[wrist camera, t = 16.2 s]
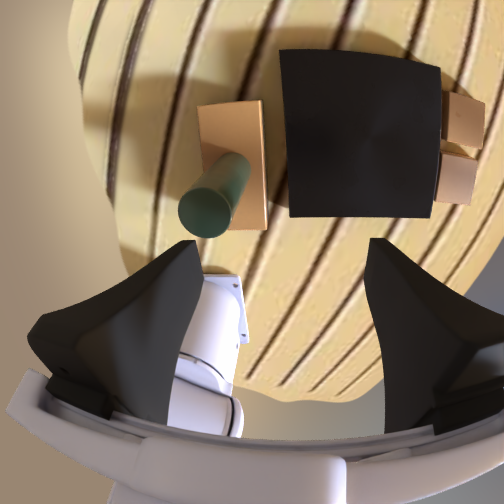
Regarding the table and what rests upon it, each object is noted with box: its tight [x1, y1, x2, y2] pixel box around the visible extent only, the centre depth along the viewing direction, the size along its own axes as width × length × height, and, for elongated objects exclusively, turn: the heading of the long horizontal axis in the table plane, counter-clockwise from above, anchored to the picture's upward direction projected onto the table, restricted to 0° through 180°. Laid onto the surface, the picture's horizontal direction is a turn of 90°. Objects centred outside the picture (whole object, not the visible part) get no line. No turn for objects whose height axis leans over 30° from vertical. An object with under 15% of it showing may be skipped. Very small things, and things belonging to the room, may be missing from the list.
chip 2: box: [433, 151, 478, 205], centre depth 17 cm, size 4×4×1 cm
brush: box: [178, 100, 269, 238], centre depth 15 cm, size 9×4×10 cm, turn 4°
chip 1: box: [441, 91, 485, 149], centre depth 14 cm, size 4×4×1 cm
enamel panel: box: [279, 49, 442, 218], centre depth 16 cm, size 12×12×2 cm
